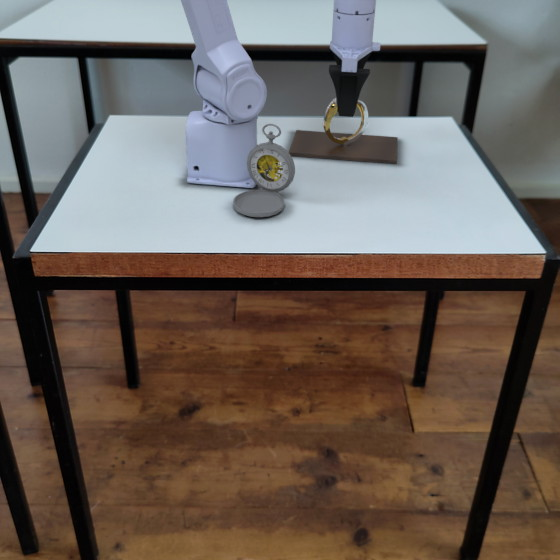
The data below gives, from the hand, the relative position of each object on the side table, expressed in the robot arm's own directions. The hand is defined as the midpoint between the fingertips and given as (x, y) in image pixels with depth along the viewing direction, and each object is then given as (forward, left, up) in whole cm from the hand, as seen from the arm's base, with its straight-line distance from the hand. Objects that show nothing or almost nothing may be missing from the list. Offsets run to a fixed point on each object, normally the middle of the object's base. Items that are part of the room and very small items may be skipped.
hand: (347, 106), depth 102 cm
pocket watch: (-9, -20, -7) cm, 23 cm away
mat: (0, 0, -7) cm, 7 cm away
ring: (0, 0, -6) cm, 6 cm away
